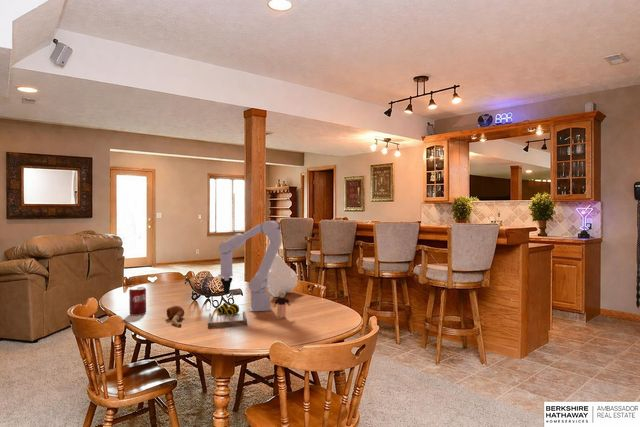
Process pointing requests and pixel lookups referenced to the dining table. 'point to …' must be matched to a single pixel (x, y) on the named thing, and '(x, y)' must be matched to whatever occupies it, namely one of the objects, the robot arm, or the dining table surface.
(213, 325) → the bar
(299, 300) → the dining table surface
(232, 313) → the opera glasses
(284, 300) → the grandmother figurine
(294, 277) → the white rounded lump
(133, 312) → the soda can
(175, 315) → the smoking pipe
